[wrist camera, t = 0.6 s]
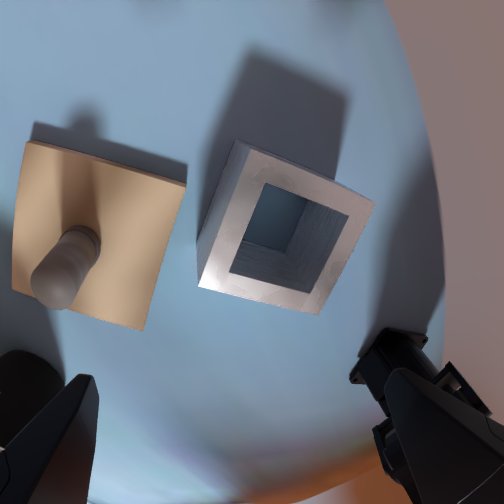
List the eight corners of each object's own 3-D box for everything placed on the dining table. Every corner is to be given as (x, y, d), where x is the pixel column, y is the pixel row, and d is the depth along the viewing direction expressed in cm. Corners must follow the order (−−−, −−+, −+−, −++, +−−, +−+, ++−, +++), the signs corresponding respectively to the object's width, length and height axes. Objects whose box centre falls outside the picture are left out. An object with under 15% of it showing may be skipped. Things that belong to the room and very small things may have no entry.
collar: (334, 180, 19) (376, 203, 14) (292, 271, 21) (318, 315, 17) (235, 139, 17) (251, 149, 12) (196, 243, 19) (198, 286, 15)
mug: (26, 322, 19) (-25, 423, 10) (97, 394, 23) (82, 495, 14) (-32, 362, 20) (-70, 437, 11) (27, 419, 24) (7, 495, 15)
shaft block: (186, 183, 17) (183, 217, 12) (144, 322, 21) (135, 386, 15) (33, 139, 14) (-24, 156, 9) (17, 281, 18) (-21, 332, 12)
